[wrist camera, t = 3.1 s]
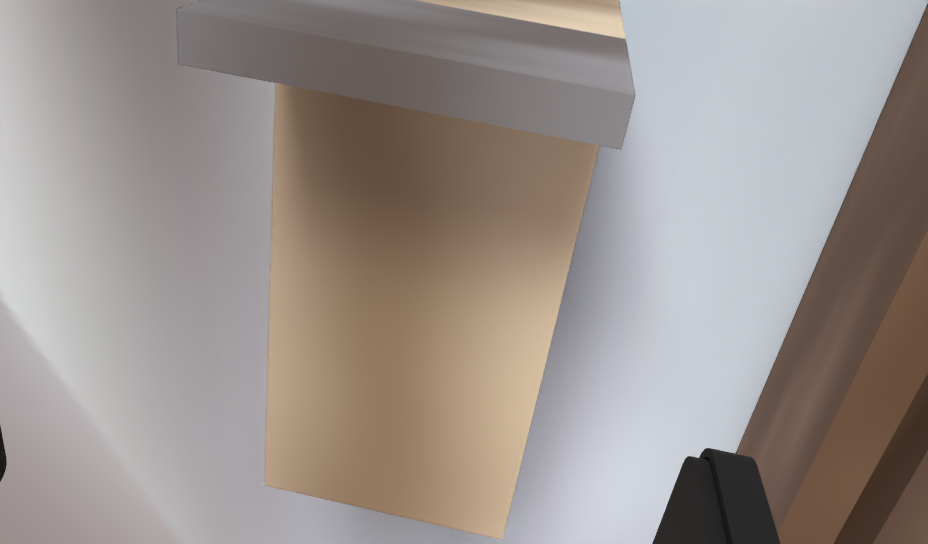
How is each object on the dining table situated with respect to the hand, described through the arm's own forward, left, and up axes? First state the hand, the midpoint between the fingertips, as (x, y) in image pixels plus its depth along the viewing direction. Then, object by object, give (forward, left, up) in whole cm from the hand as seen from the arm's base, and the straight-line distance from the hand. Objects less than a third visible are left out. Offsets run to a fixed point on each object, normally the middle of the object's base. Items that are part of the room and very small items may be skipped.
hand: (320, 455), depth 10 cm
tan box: (0, 0, -11) cm, 11 cm away
